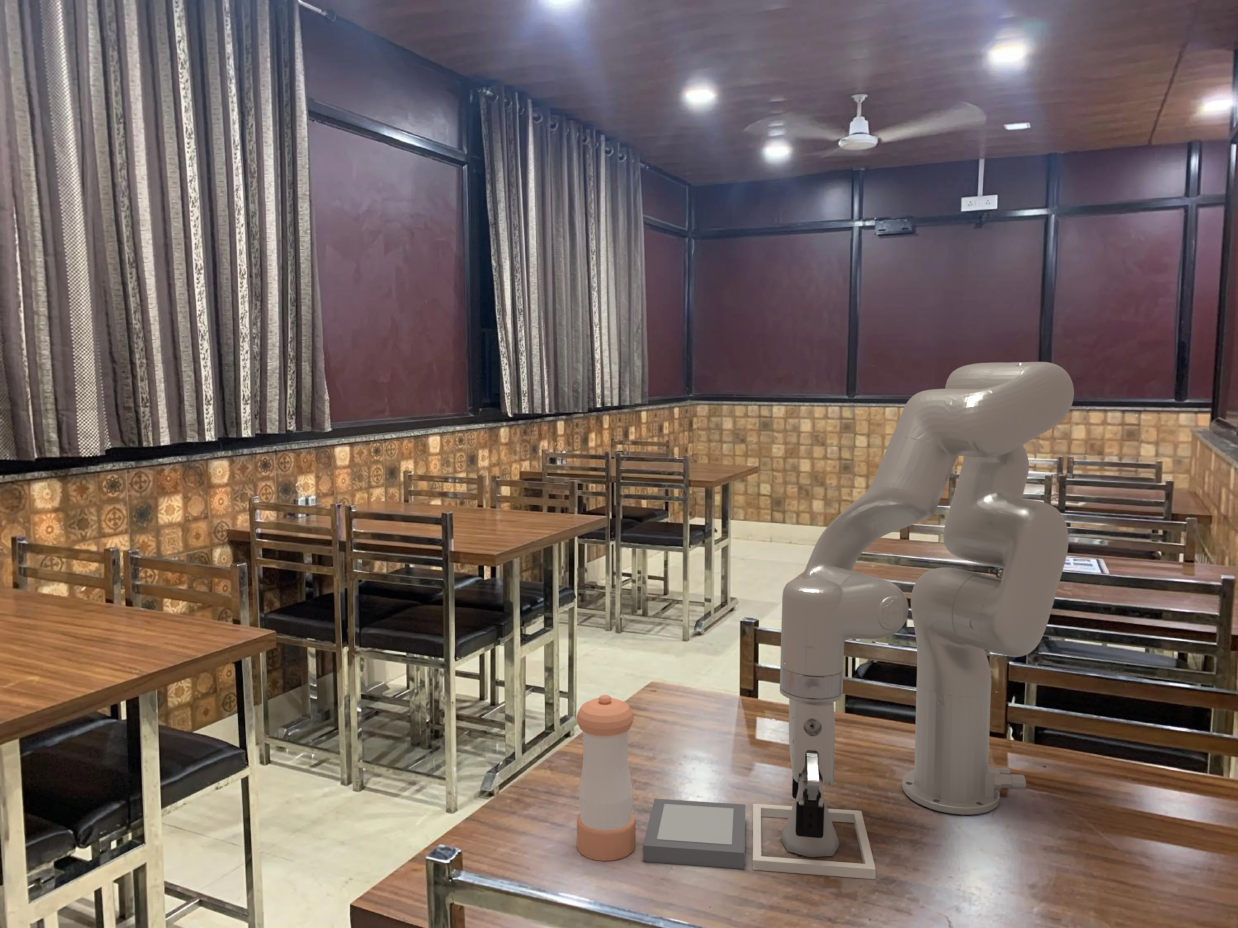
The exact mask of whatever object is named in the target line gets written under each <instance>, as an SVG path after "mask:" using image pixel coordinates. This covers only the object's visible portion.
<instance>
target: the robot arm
mask: <svg viewBox="0 0 1238 928" xmlns="http://www.w3.org/2000/svg"><path fill="white" fill-rule="evenodd" d="M1074 395H1075V388H1074V383H1073V380H1072V378H1071V376H1070V374H1069V373H1068V372H1067V371H1066V369H1064V368H1063V367H1062V366H1060V365H1058V364H1055V363H1052V362H1048V361H1028V362H1027V361H1025V362H1024V361H1023V362H1022V361H1017V362H1016V361H1013V362H980V363H972V364H967V365H962V366H961V367H958V368H956V369H955V370H953V371H952V372H951V373H950V374H949V376H948V378H947V379H946V384H945V388H935V389H932V388H931V389H927V390H922V391H919V392H917V393H915V394H914V395H912V396H911V397H910V398H909V399H908V400H907V402H906V404H905V405H904V407H903V409H902V411H901V414H900V416H899V419H898V421H897V423H896V426H895V428H894V431H893V433H892V435H891V438H890V440H889V443H888V444H887V446H886V449H885V452H884V454H883V457H882V459H881V461H880V464H879V467H878V468H877V471H876V473H875V476H874V478H873V480H872V482H871V485H870V486H869V488H868V489H867V491H866V492H864V494H862V495H861V496H860V497H859V498H857V499H856V500H854V501H853V502H852V503H850V504H849V506H847V507H846V508H845V509H844V510H843V511H842V512H840V514H839V515H838V516H836V517H835V519H834V520H833V521H832V522H830V523H829V524H828V526H826V528H825V529H824V530H823V532H822V533H821V535H820V536H819V538H818V539H817V541H816V543H815V545H814V548H813V550H812V552H811V555H810V557H809V559H808V561H807V564H806V567H805V569H804V572H803V574H802V578H797V579H793V580H791V581H789V582H787V583H786V584H785V586H784V587H783V589H782V596H781V598H782V599H781V605H782V606H781V629H780V630H781V632H780V634H781V635H780V661H779V662H780V663H779V664H780V666H779V667H780V669H779V672H780V673H779V674H780V675H779V693H780V695H782V696H783V697H785V698H787V699H788V743H789V744H788V745H789V756H790V764H791V765H790V766H791V771H792V773H791V774H792V778H791V779H792V782H791V783H792V784H791V796H792V798H793V799H795V800H796V797H797V793H798V788H799V802H796V830H795V831H796V835H797V836H801V837H812V838H822V837H823V832H824V804H823V795H824V790H823V789H824V787H823V785H824V784H828V785H829V786H832V785H833V784H834V783H835V744H836V743H835V739H836V738H835V730H836V726H835V724H836V723H835V721H836V719H835V717H836V716H835V715H836V714H835V702H838V701H840V700H841V699H842V698H843V693H844V692H843V690H844V687H843V685H844V682H843V681H844V659H845V657H844V655H845V641H846V640H871V641H872V640H873V641H874V640H882V639H886V638H889V637H891V636H893V635H896V634H897V633H898V632H900V630H901V629H902V628H903V626H904V625H905V623H906V621H907V620H908V617H909V616H908V615H909V601H908V599H907V597H906V594H905V593H904V592H903V590H901V588H900V587H898V586H897V585H896V584H894V583H893V582H891V581H889V580H887V579H883V578H880V577H877V576H872V575H868V574H865V573H863V572H859V571H854V570H853V569H854V566H855V564H856V562H857V561H858V559H859V557H860V556H861V555H862V554H863V552H864V551H865V550H866V549H867V548H868V547H869V546H870V545H871V544H873V543H874V542H876V541H877V540H879V539H880V538H882V537H884V536H887V535H889V534H891V533H894V532H896V531H900V530H902V529H905V528H908V527H910V526H913V525H916V524H918V523H921V522H925V521H926V520H928V519H930V518H932V516H933V515H934V514H935V513H936V511H937V508H938V506H939V504H940V500H941V498H942V496H943V493H944V490H945V488H946V487H947V484H948V481H949V478H950V476H951V473H952V471H953V468H954V466H955V464H956V462H957V459H958V458H959V457H961V456H962V457H963V459H962V465H961V468H960V472H959V475H958V479H957V482H956V486H955V489H954V493H953V495H952V499H951V502H950V507H949V509H948V512H947V516H946V520H945V523H944V528H943V544H944V546H945V548H946V550H947V551H948V552H949V553H950V554H951V555H953V556H954V557H957V558H958V559H960V560H961V559H962V560H964V561H968V562H973V563H975V564H980V565H985V566H989V567H994V568H999V569H1003V572H1002V576H1001V578H1000V577H996V576H992V575H987V574H984V573H980V572H975V571H971V570H966V569H961V568H957V567H950V566H949V567H944V566H943V567H935V568H932V569H929V570H927V571H925V572H924V573H923V574H921V575H920V576H919V577H918V579H917V580H916V581H915V584H914V585H913V588H912V591H911V596H910V610H911V618H912V621H913V622H912V624H913V626H914V627H913V628H914V634H915V640H916V641H915V643H916V657H917V658H916V663H917V664H916V665H917V666H916V694H915V732H914V733H915V735H914V736H915V737H914V769H911V770H910V771H908V772H907V773H905V774H904V776H903V777H902V783H901V784H902V786H901V787H902V790H903V792H904V793H905V795H906V796H907V797H908V798H909V799H911V800H912V801H914V802H915V803H917V804H918V805H921V806H923V807H926V808H928V809H931V810H933V811H937V812H940V813H946V814H951V815H960V816H962V815H965V816H967V815H968V816H969V815H972V816H973V815H980V814H985V813H988V812H990V811H992V810H994V809H996V808H997V807H998V805H999V803H1000V791H1001V790H1002V789H1011V790H1021V791H1023V790H1026V787H1027V782H1026V777H1025V775H1024V774H1017V773H1016V774H1014V773H1013V774H1011V769H1010V768H1007V767H1006V768H1005V767H1004V768H1003V767H999V768H996V767H992V765H990V763H989V755H990V754H989V752H990V751H989V749H990V728H991V727H990V726H991V725H990V723H991V721H990V719H991V693H992V673H991V672H992V670H991V666H990V662H989V659H988V656H987V654H986V651H988V652H992V653H995V654H998V655H1001V656H1007V657H1010V658H1016V657H1017V658H1018V657H1019V658H1020V657H1024V656H1027V655H1029V654H1030V653H1031V652H1034V650H1035V649H1036V648H1037V646H1038V645H1039V644H1040V643H1041V640H1042V638H1043V637H1044V634H1045V632H1046V629H1047V626H1048V624H1049V620H1050V616H1051V613H1052V609H1053V606H1054V603H1055V598H1056V595H1057V591H1058V588H1059V585H1060V581H1061V578H1062V575H1063V570H1064V567H1065V564H1066V560H1067V555H1068V550H1069V530H1068V525H1067V522H1066V519H1065V518H1064V516H1063V515H1062V513H1061V512H1060V510H1059V509H1057V508H1056V507H1055V506H1054V505H1051V504H1049V503H1047V502H1043V501H1040V500H1034V499H1027V498H1024V493H1025V488H1026V485H1027V481H1028V476H1029V471H1030V460H1029V456H1028V453H1027V450H1026V448H1025V446H1024V445H1025V444H1027V443H1028V442H1030V441H1032V440H1034V439H1036V438H1037V437H1040V436H1041V435H1042V434H1044V433H1047V432H1048V431H1050V430H1052V429H1053V428H1055V427H1057V425H1059V424H1060V423H1061V422H1062V421H1063V420H1064V419H1065V418H1066V416H1067V414H1068V413H1069V412H1070V411H1071V410H1070V409H1071V407H1072V405H1073V402H1074ZM818 773H819V776H818ZM802 774H807V777H802ZM823 783H824V784H823ZM804 785H807V789H805V790H804Z"/></svg>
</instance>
